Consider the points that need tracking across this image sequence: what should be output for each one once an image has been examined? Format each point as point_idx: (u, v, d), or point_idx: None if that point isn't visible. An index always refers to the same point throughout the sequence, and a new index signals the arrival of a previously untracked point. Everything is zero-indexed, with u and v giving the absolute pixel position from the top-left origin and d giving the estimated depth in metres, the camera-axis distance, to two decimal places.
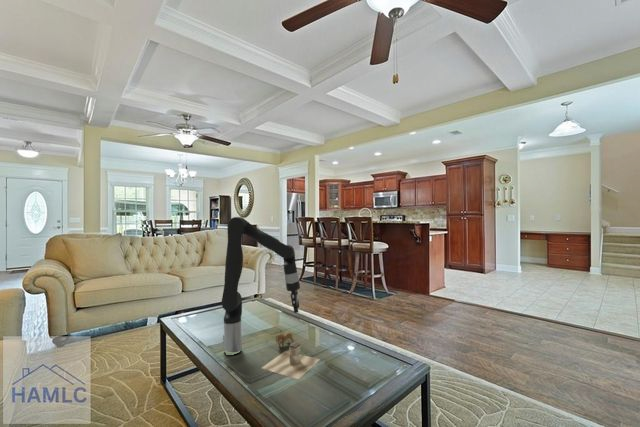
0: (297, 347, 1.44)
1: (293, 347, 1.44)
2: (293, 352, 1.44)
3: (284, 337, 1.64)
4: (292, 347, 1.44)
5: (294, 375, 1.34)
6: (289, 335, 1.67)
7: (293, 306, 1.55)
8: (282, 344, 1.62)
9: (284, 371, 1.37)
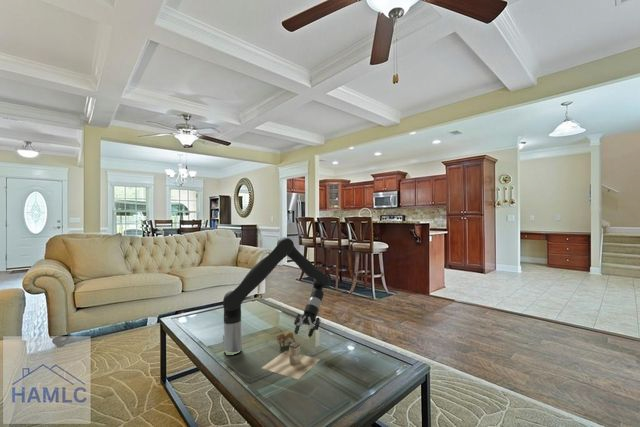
0: (297, 347, 1.44)
1: (293, 347, 1.44)
2: (293, 352, 1.44)
3: (285, 336, 1.65)
4: (292, 347, 1.44)
5: (294, 375, 1.34)
6: (290, 334, 1.67)
7: (311, 329, 1.52)
8: (283, 343, 1.63)
9: (284, 371, 1.37)
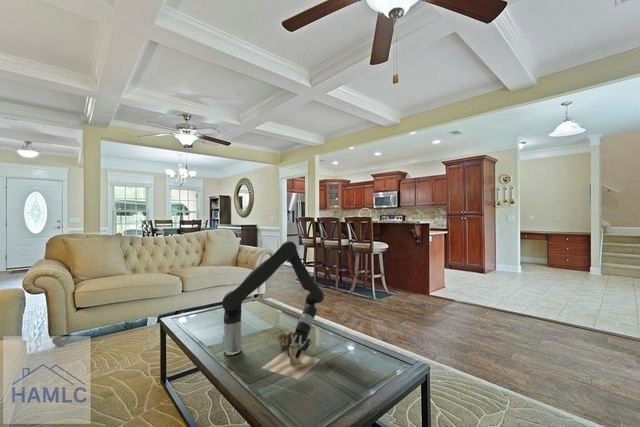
0: (297, 347, 1.44)
1: (293, 347, 1.44)
2: (293, 352, 1.44)
3: (286, 336, 1.65)
4: (292, 347, 1.44)
5: (294, 375, 1.34)
6: (291, 334, 1.68)
7: (298, 350, 1.44)
8: (284, 343, 1.64)
9: (284, 371, 1.37)
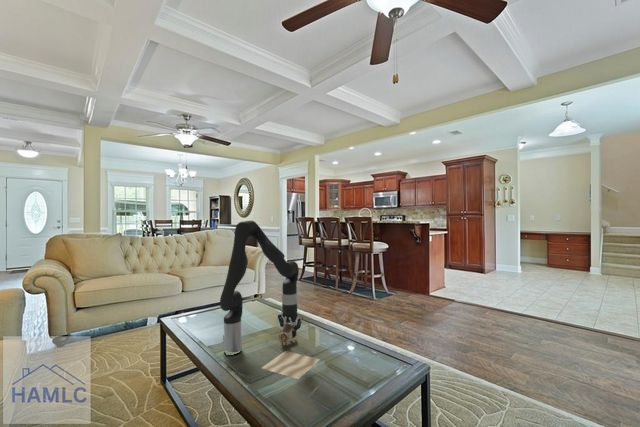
0: (291, 330, 1.40)
1: (287, 332, 1.40)
2: (289, 334, 1.41)
3: None
4: (286, 332, 1.40)
5: (294, 375, 1.34)
6: None
7: (293, 331, 1.41)
8: (285, 342, 1.64)
9: (284, 371, 1.37)
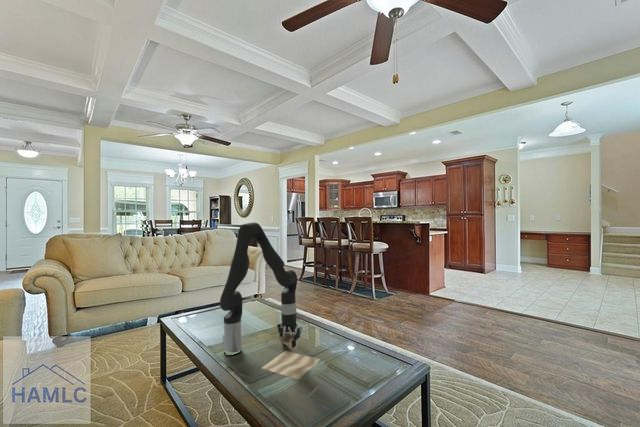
0: (290, 340, 1.39)
1: (286, 342, 1.39)
2: (288, 344, 1.40)
3: None
4: (285, 342, 1.39)
5: (294, 375, 1.34)
6: None
7: (292, 340, 1.40)
8: None
9: (284, 371, 1.37)
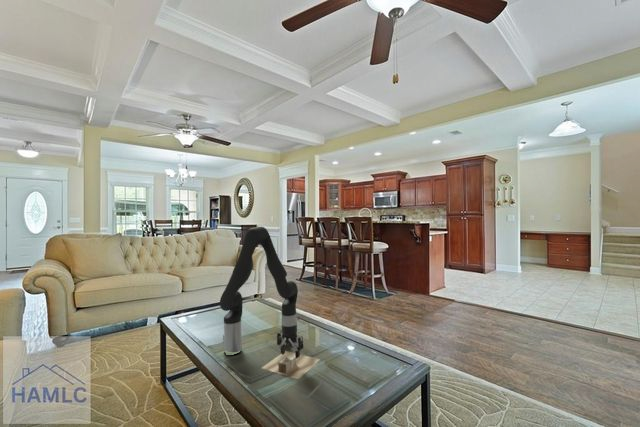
0: (286, 369, 1.36)
1: None
2: None
3: None
4: None
5: (294, 375, 1.34)
6: None
7: (296, 351, 1.39)
8: None
9: None
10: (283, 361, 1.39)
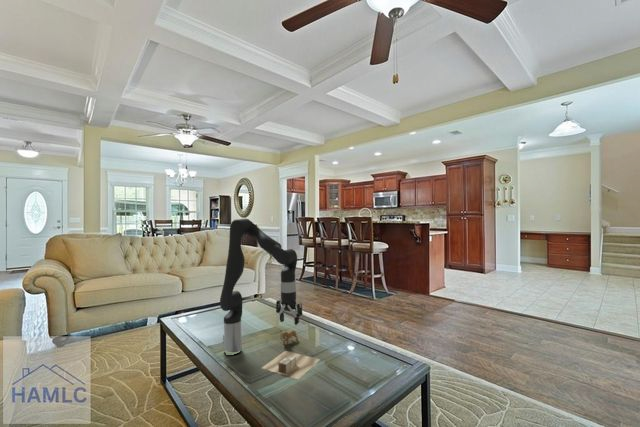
0: (286, 369, 1.36)
1: None
2: None
3: (288, 334, 1.67)
4: None
5: (294, 375, 1.34)
6: (293, 333, 1.70)
7: (295, 317, 1.39)
8: (287, 341, 1.65)
9: None
10: (283, 361, 1.39)
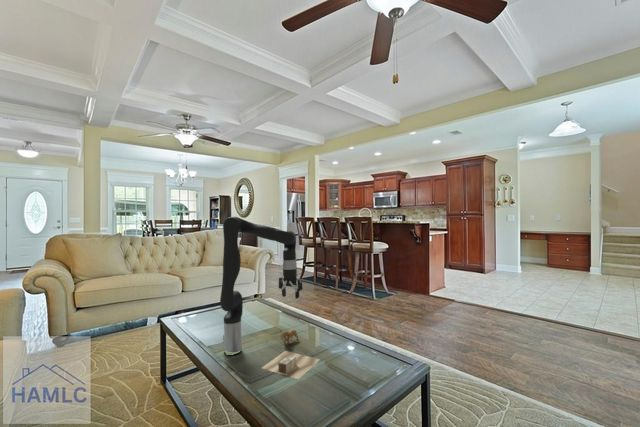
0: (286, 369, 1.36)
1: None
2: None
3: (289, 334, 1.68)
4: None
5: (294, 375, 1.34)
6: (294, 332, 1.70)
7: (296, 292, 1.54)
8: (287, 341, 1.66)
9: None
10: (283, 361, 1.39)
